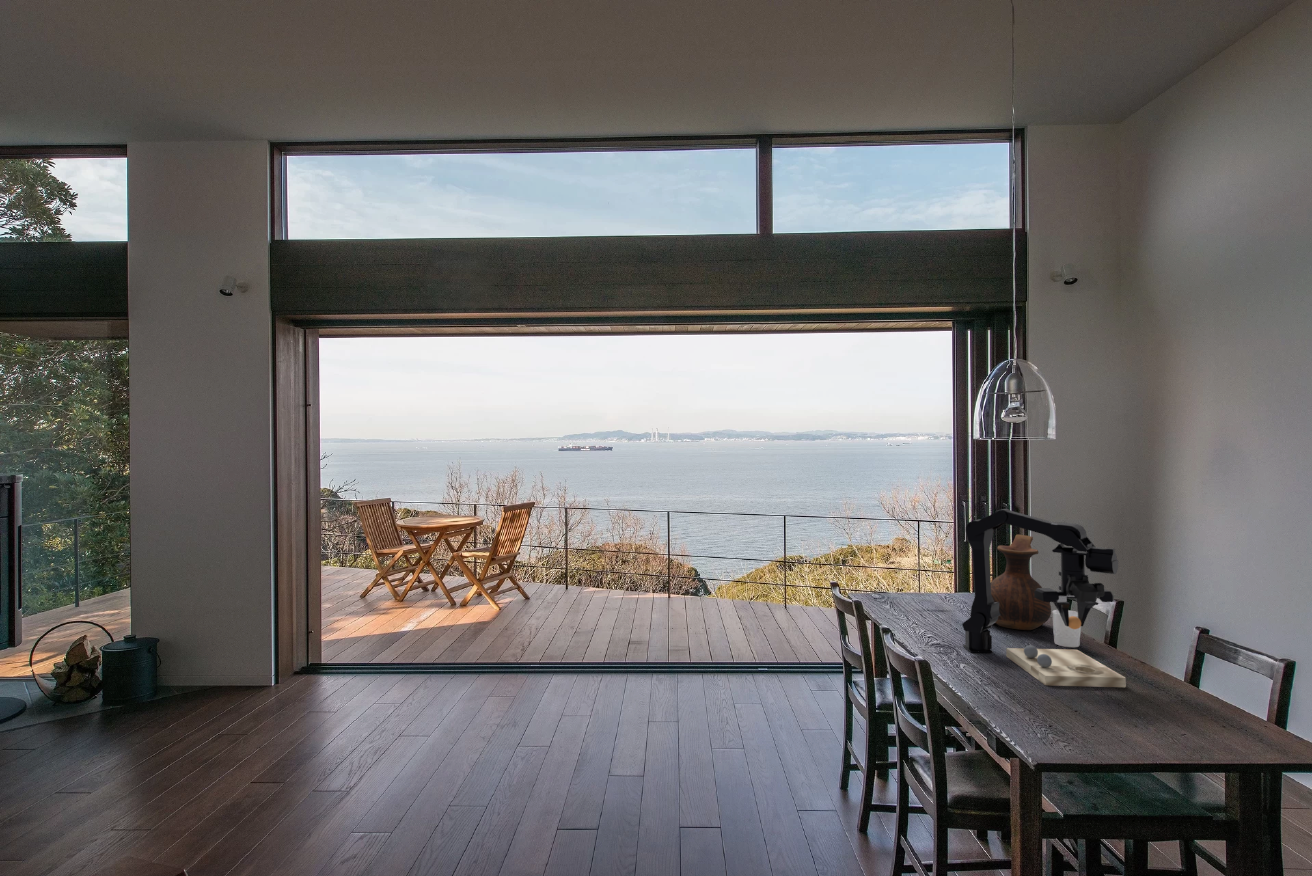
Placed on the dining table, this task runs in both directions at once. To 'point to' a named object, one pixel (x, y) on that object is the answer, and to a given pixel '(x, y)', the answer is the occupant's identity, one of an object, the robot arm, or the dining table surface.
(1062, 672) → the board
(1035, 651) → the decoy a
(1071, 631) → the white cup
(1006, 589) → the jug
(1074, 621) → the ball
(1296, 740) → the dining table surface
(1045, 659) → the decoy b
